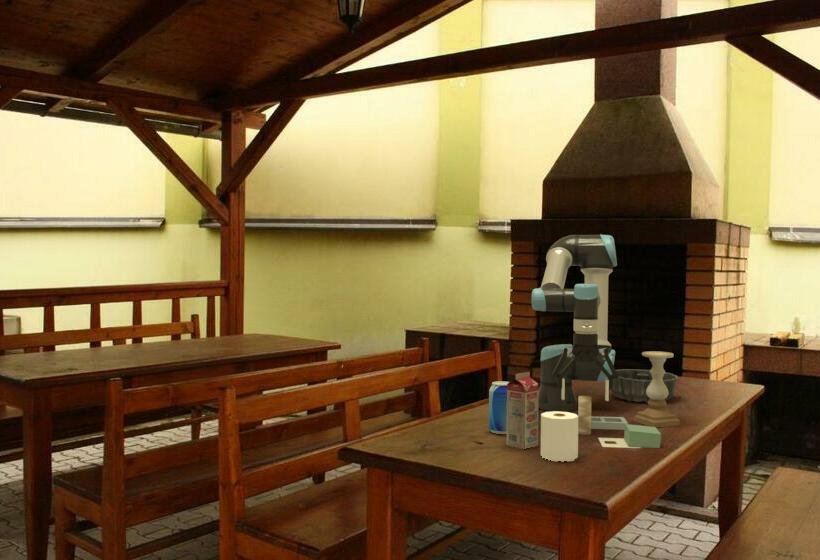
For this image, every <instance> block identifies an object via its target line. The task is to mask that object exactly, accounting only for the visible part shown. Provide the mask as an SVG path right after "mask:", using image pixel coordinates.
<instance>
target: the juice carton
mask: <svg viewBox="0 0 820 560" xmlns="http://www.w3.org/2000/svg"><path fill="white" fill-rule="evenodd" d="M508 382H509V383H508V384H507V435H506V446H507V445H511V446H515V447H519V448H523V449H524V442H525V449H526V448H530V447H533V446H537V445H538V446H539V408H538V398H539V389H540V386H539V385H540V383H538V382H537V381H536V380H535V379H533V378H532V377H531V374H530V371H526V372H525V371H524V372H520V373H515V379H514V380H512V381H508ZM538 446H537V447H538ZM533 448H534V447H533ZM530 449H531V448H530Z"/></svg>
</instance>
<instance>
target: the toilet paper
mask: <svg viewBox="0 0 820 560" xmlns="http://www.w3.org/2000/svg"><path fill="white" fill-rule="evenodd" d="M541 456H542V457H541ZM540 457H541V458H542V459H543V458H545V459H544V460H546V459H548V460H547V461H550V460H551V461H550V462H558V461H561V462H560V463H564V461H567V462H574V461H576V460H577V459H578V458H579V433H578V414H577V413H573V412H570V411H545V412H542V413H540ZM575 459H576V460H575Z"/></svg>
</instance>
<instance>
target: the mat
mask: <svg viewBox="0 0 820 560" xmlns="http://www.w3.org/2000/svg"><path fill="white" fill-rule="evenodd" d="M597 439H598V441H599V443H600V444H601V447H602V448H618V449H619V448H621V449H622V448H624V449H642V447H634V446H628V444H627V443H626V441H625V440H624V437H623V438H622V437H621V438H619V437H618V438H617V437H616V438H615V437H597ZM606 442H615V443H606Z"/></svg>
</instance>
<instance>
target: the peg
mask: <svg viewBox="0 0 820 560" xmlns="http://www.w3.org/2000/svg"><path fill="white" fill-rule="evenodd" d="M577 411H578V413H577V416H578V435H583V436H587V435H588V436H589V435H592V429H591V416H592V396H589V395H579V396H578V401H577Z"/></svg>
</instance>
